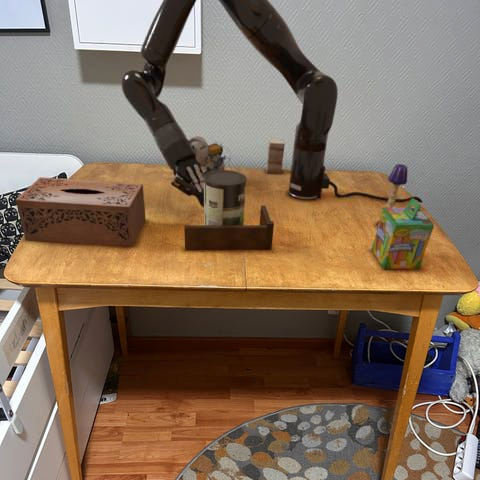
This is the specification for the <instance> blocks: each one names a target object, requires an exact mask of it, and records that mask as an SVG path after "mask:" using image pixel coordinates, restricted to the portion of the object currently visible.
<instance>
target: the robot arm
mask: <svg viewBox="0 0 480 480" xmlns="http://www.w3.org/2000/svg"><path fill="white" fill-rule="evenodd" d="M218 2H219V3H220V4H221V6H222V7H223V9H224V10H225V12H226V13H227V14H228V16H229V18H230V19H231V20H232V22H233V23H234V25H235V26H236V27H237V29H238V30H239V31H240V32H241V34H242V35H243V37H244V38H245V39H246V40H247V41H248V42H249V44H250V45H251V46H252V47H253V49H255V51H256V52H257V53H259V54H260V56H262V58H264V60H266V62H267V63H269V64H270V66H272V67H273V68H274V69H276V70H277V71H278V72H279V74H280V75H281V76H282V77H283V78H284V80H285V81H286V82H287V84H288V85H289V86H290V88H291V89H292V91H293V92H294V94H295V96H296V98H297V99H298V100H299V102H300V103H301V104H302V109H301V115H300V120H299V122H298V123H297V124H296V126H295V130H294V131H295V133H294V140H293V141H294V142H293V151H292V159H291V168H290V178H289V185H288V191H287V194H288V196H289V197H291V198H293V199H296V200H299V201H313V200H316V199H317V200H318V199H321V198H322V191H323V190H329V188H330V186H331V187H332V188H333V193H334V196H335V197H337V198H349V197H352V196H359V197H365V198H368V199H372V200H377V201H382V202H383V201H384V202H388V200H389V198H390V197H385V196H379V195H373V194H370V193H366V192H361V191H360V192H359V191H352V192H348V193H345V194H340V193H339V192H338V186H337V185H336V184H335V183H334V182H332V181H331V179H330V177H329V175H328V174H327V173H326V165H325V157H326V151H327V144H328V139H329V133H330V131H331V129H332V126H333V123H334V118H335V113H336V108H337V102H338V96H339V95H338V94H339V92H338V91H339V90H338V85H337V83H336V81H335V80H334V78H332V77H331V76H330V75H327V74H326V73H324V72H323V71H321V70H320V69H318V68H317V67H316V66H315V65H314V64H313V63H312V61H311V60H310V59H309V58H308V57H307V56H306V55H305V54H304V53H303V52H302V50H301V48H300V46H299V45H298V42H297V41H296V39H295V36H294V35H293V33H292V31H291V29H290V27H289V26H288V24H287V22H286V21H285V19H284V18H283V17H282V15H281V13H279V12H278V10H277V9H276V8H275V6H273V4H272V3H271V2H270V1H269V0H218ZM196 3H197V0H162V2H161V4H160V6H159V8H158V10H157V11H156V13H155V15H154V17H153V20H152V22H151V24H150V26H149V28H148V31H147V33H146V36H145V38H144V41H143V42H142V45H141V47H140V56H141V58H142V59H143V61H144V64H143V68H142V70H139V69H129V70H127V71H125V72H124V73H123V75H122V77H121V81H120V83H121V85H120V86H121V91H122V93H123V95H124V98H125V100H126V101H127V102H128V103H129V105H130V106H131V108H133V110H134V111H135V113H136V114H138V116H139V117H140V118H141V119H142V120H143V121H144V122H145V125H146V126H147V129H148V130H149V132H150V134H151V136H152V138H153V139H154V141H155V144H156V146H157V147H158V150H159V151H160V154H161V155H162V157H163V159H164V160H165V162H166V164H167V166H168V167H169V169H170V170H172V173H173V177H174V178H173V179H172V180H171V181H170V184H171V186H172V187H174V188H176V189H177V190H178V191H180V192H182V193H183V194H185V195H187V196H188V197H191V196H194V197H196V200H197V201H198V203H199V204H200V206H201V208H203V209H204V180H203V176H204V175H205V174H206V173H208V172H211V169H210V167H207V168H204V167H202V166H201V164H200V163H199V162H198V161H197V160H196V153H195V152H194V150H193V148H192V146H191V144H190V143H189V141H188V137H187V136H186V134H185V132H184V130H183V129H182V127H181V126H180V125H179V122H177V119H176V118H175V115H174V114H173V112H172V111H171V109H170V107H169V106H168V105H167V104H166V103H163V102H162V101H161V100H160V99H159V97H160V95H161V94H162V91H163V88H164V84H165V79H166V76H167V70H168V65H169V62H170V60H171V58H172V56H173V54H174V52H175V50H176V47H177V45H178V42H179V40H180V38H181V37H182V33H183V30H184V29H185V26H186V24H187V21H188V19H189V18H190V17H189V16H190V14H191V13H192V10H193V9H194V6H195V4H196ZM194 187H195V188H196V189H195V188H194ZM412 198H413V199H414V200H415V201H416V202H418V203H419V204H422V203H423V200H422V198H421V197H418V196H410V197H407V198H395V203H406V202H410V200H411V199H412Z"/></svg>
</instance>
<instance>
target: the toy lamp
mask: <svg viewBox="0 0 480 480" xmlns="http://www.w3.org/2000/svg"><path fill="white" fill-rule="evenodd" d="M387 180H388V182H389V183H391V184H392V187H391V189H390V193H389V197H388V198H389V200H388V201H387V204H386V206H385V208H394V205H395V203H396V202H395V199H397V196H398V195H397V194H398V192H399V188H400V186H404V185H406V184H407V183H408V166H407V165H405V164H402V163H398V164H395V165H394V167H393V169H392V171H391V172H390V173H389V176H388V178H387ZM379 221H380V219H379V220H377V222H376V227H377V228H378V225H379Z"/></svg>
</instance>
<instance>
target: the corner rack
mask: <svg viewBox="0 0 480 480" xmlns="http://www.w3.org/2000/svg"><path fill="white" fill-rule="evenodd" d="M183 228H184V229H183V230H184V251H186V252H187V251H188V252H189V251H192V252H193V251H195V252H196V251H272V248H273V241H274V240H273V239H274V228H275V223H274V220H271V218H270V215H269V211H268V208H267V205H264V204H263V205H260V213H259V224H249V225H248V224H243V225H204V224H194V225H193V224H190V225H188V224H185V225H184V227H183Z"/></svg>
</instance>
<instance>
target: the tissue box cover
mask: <svg viewBox="0 0 480 480" xmlns="http://www.w3.org/2000/svg"><path fill="white" fill-rule="evenodd" d="M15 205H16V208H17V212H18V216H19V219H20V224H21V228H22V232H23V236H24V240H25V241H36V242H49V243H51V242H52V243H68V244H82V245H83V244H84V245H97V246H98V245H99V246H114V247H115V246H116V247H130V248H131V247H132V248H134V246H135V244H136V242H137V240H138V239H139V236H140V234H141V232H142V230H143V227H144V226H145V223H146V221H147V219H146V207H145V206H146V205H145V193H144V184H143V183H139V182H138V183H136V182H122V181H121V182H120V181H103V180H88V179H72V178H71V179H70V178H57V177H56V178H55V177H39V178H37V180H35V182H32V184H31V185H29V187H28V188H27V189H26V190H24V191H23V192H22V193H21V194H20V195H19V196H18V197H17V198H15Z"/></svg>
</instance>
